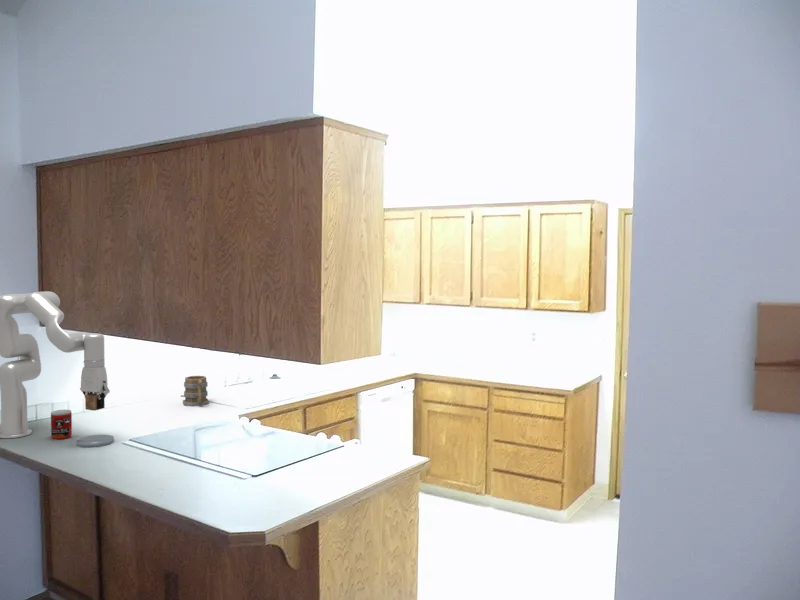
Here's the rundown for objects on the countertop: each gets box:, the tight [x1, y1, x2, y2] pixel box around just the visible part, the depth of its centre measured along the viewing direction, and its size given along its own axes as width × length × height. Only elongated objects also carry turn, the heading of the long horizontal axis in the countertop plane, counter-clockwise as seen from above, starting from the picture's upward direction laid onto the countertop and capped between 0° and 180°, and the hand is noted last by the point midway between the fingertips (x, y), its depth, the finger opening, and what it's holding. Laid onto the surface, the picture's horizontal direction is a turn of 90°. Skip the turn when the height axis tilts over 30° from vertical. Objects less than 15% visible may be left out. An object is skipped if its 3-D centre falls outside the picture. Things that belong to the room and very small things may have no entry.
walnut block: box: [84, 393, 106, 412], centre depth 263 cm, size 5×5×6 cm
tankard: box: [182, 375, 210, 407], centre depth 335 cm, size 20×13×15 cm, turn 25°
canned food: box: [50, 409, 73, 441], centre depth 271 cm, size 8×8×11 cm
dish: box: [75, 434, 115, 449], centre depth 264 cm, size 14×14×2 cm
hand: (95, 407), depth 263 cm, fingers closed on walnut block, 5 cm apart
